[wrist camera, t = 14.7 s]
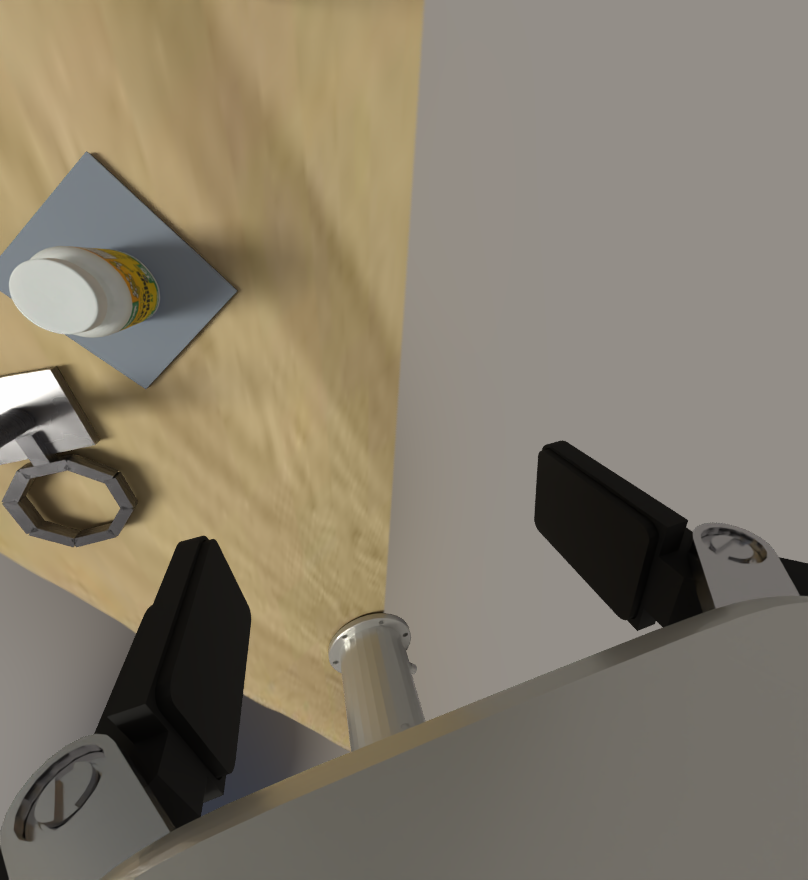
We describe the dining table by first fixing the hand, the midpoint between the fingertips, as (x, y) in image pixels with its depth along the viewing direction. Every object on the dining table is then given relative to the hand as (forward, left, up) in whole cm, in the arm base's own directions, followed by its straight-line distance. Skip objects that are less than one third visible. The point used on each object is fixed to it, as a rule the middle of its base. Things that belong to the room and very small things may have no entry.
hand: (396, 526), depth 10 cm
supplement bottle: (+14, +8, -28) cm, 32 cm away
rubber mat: (+14, +8, -28) cm, 33 cm away
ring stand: (+9, +25, -28) cm, 39 cm away
